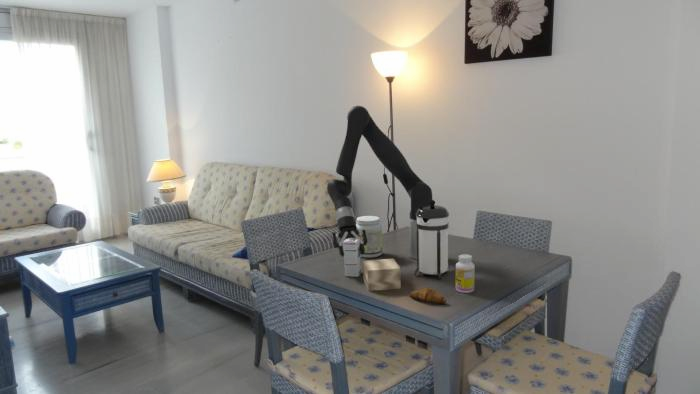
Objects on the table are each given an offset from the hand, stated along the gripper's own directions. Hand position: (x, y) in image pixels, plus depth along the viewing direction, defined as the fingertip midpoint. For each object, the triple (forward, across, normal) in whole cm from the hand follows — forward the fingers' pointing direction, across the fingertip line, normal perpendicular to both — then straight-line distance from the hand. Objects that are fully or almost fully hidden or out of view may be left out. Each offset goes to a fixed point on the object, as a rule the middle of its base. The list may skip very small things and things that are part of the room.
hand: (352, 254), depth 200 cm
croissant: (+30, +19, -16) cm, 39 cm away
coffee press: (+11, +31, +2) cm, 33 cm away
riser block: (+15, +8, -3) cm, 17 cm away
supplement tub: (-12, +13, +24) cm, 30 cm away
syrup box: (+5, 0, +7) cm, 9 cm away
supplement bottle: (+26, +35, -13) cm, 45 cm away
